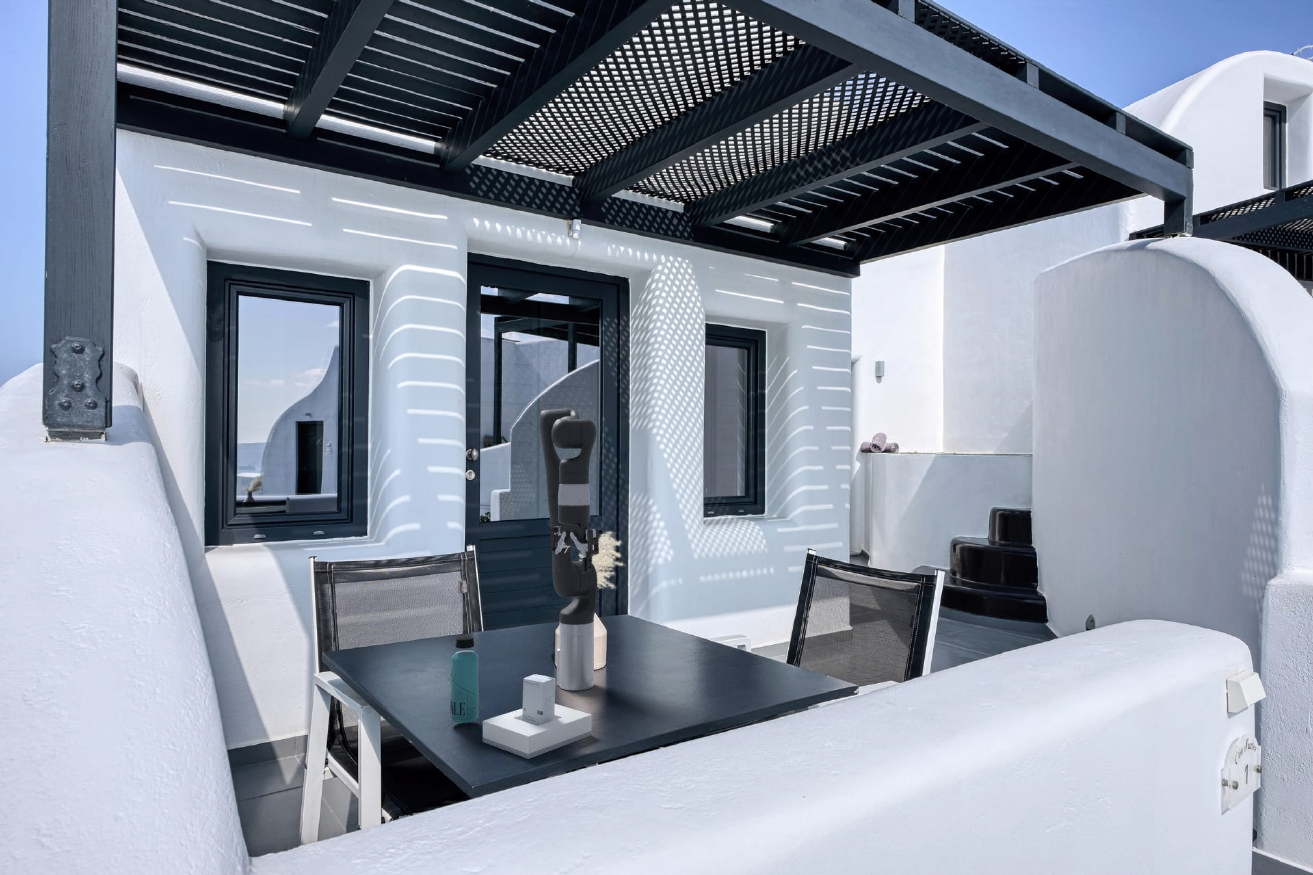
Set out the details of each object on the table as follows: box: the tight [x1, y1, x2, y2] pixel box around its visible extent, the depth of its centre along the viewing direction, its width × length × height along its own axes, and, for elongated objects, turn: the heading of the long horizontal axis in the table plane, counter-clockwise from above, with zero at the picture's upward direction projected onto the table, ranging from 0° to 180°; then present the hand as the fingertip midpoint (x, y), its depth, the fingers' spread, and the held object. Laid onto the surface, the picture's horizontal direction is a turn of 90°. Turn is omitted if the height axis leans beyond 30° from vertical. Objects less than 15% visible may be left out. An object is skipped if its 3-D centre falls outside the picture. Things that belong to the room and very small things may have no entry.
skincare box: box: [521, 673, 557, 726], centre depth 171 cm, size 6×4×12 cm
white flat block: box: [482, 703, 593, 760], centre depth 171 cm, size 15×18×4 cm
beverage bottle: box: [449, 635, 480, 724], centre depth 180 cm, size 6×7×20 cm
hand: (574, 571), depth 186 cm, fingers open, 8 cm apart
